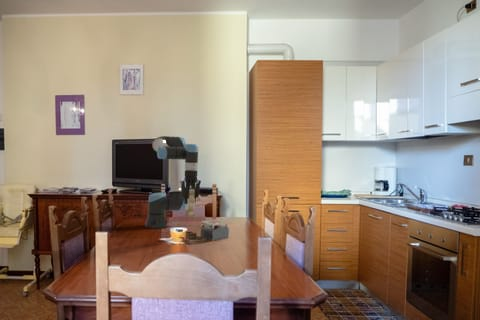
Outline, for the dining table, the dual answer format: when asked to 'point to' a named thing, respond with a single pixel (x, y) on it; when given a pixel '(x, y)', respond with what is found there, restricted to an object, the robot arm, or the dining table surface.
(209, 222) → the box
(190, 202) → the stick
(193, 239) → the tray
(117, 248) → the dining table surface
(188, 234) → the stand
